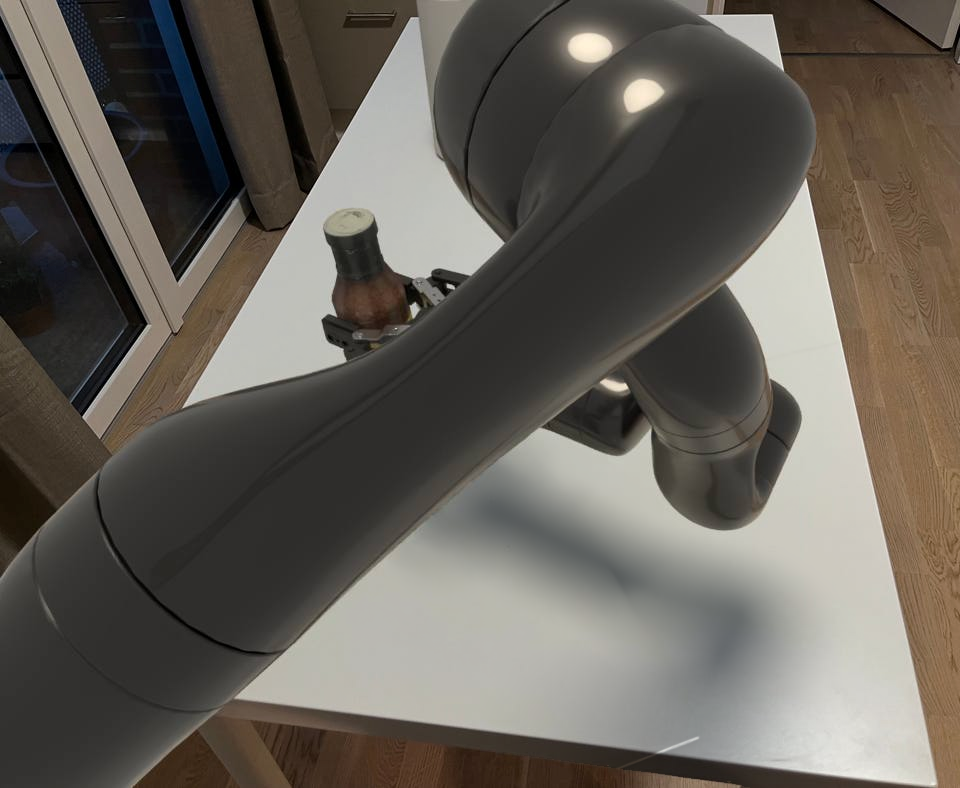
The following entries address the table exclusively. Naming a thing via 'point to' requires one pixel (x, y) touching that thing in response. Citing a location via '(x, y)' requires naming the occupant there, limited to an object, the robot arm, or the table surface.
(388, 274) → the sauce bottle
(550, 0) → the robot arm
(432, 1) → the cylinder vase
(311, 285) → the table surface
